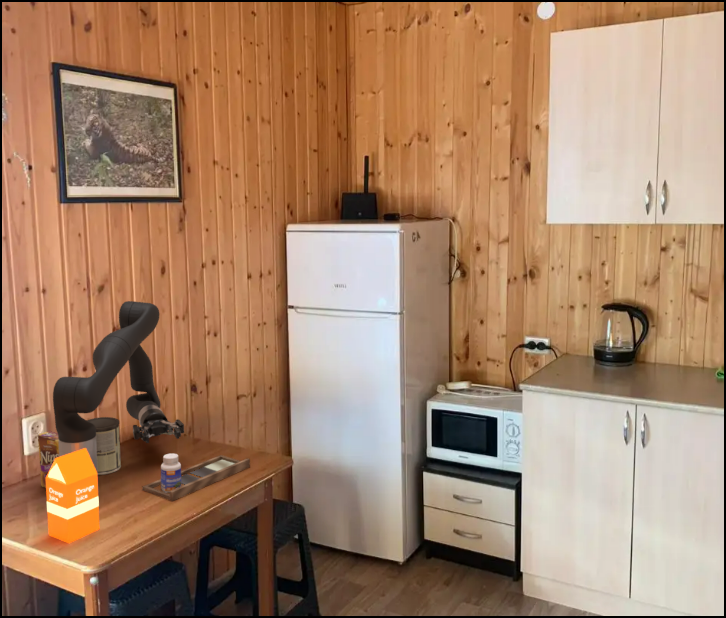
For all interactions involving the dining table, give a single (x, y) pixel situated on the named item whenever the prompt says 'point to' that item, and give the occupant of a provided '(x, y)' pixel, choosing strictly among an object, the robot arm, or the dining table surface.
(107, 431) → the coffee can
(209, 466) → the tray
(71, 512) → the orange juice
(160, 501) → the dining table surface
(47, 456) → the candy box
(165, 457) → the pill bottle
